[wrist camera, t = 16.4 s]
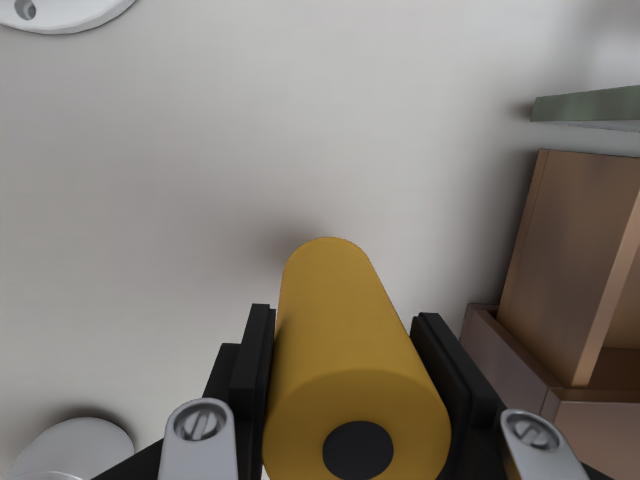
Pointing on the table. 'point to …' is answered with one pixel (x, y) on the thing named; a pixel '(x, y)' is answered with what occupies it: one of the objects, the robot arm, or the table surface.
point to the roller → (347, 378)
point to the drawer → (580, 251)
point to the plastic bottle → (73, 451)
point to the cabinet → (557, 397)
